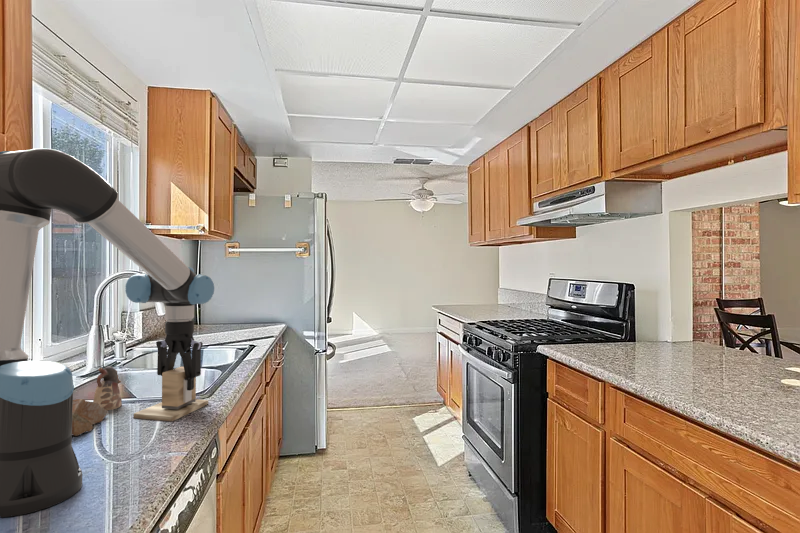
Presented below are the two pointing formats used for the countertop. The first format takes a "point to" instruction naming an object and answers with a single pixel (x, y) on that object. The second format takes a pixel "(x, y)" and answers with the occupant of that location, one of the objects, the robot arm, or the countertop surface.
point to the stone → (85, 416)
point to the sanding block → (175, 389)
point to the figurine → (108, 389)
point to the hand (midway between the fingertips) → (178, 400)
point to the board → (169, 411)
